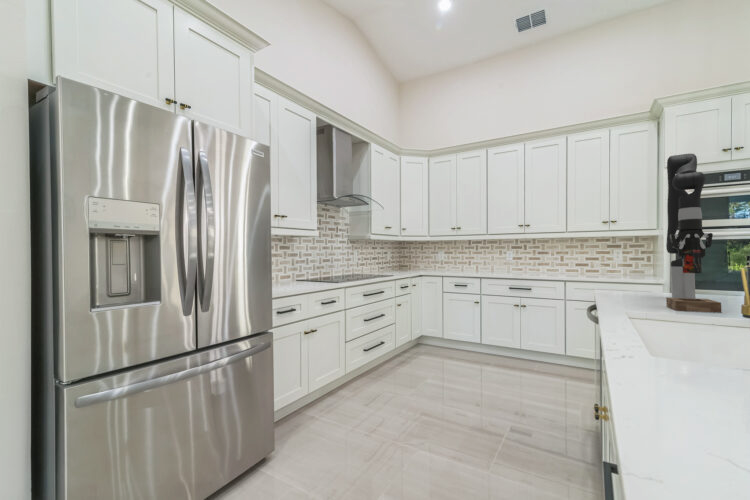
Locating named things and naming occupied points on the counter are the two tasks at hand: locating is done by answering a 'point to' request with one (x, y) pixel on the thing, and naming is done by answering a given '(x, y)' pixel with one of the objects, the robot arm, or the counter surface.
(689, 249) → the deodorant
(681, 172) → the robot arm
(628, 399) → the counter surface
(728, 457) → the counter surface
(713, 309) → the socket block
